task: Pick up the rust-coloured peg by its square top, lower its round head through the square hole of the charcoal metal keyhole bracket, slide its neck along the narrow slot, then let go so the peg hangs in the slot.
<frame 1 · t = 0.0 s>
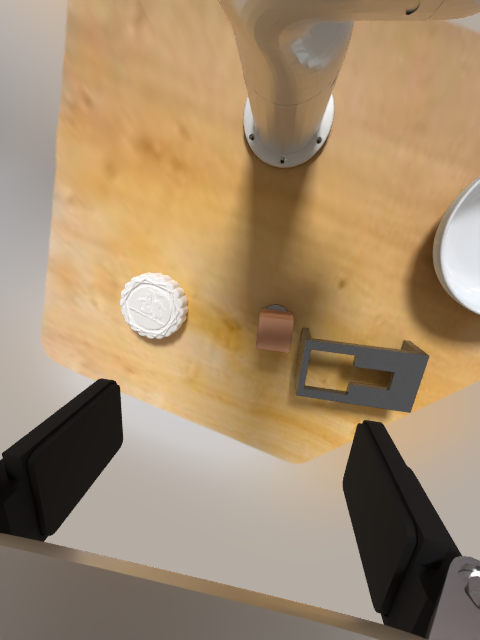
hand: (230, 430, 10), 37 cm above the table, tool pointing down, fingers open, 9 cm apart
mooncake: (158, 303, 49), on the table
keyhole peg: (275, 318, 47), on the table
keyhole bracket: (349, 360, 47), on the table
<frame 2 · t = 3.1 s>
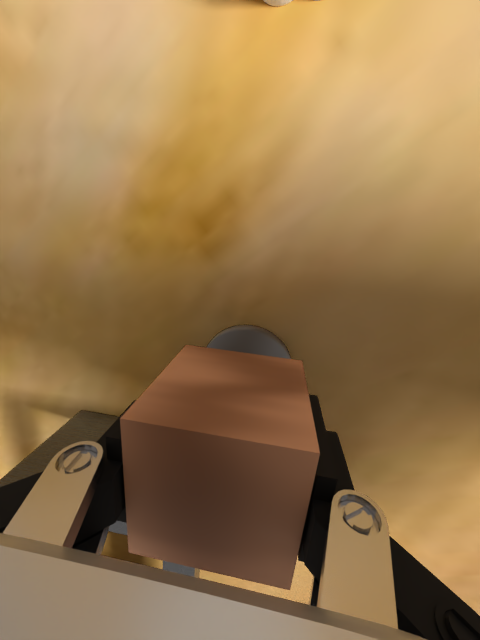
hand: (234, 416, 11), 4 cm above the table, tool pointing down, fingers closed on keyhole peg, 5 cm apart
keyhole peg: (246, 367, 15), on the table, touching gripper
keyhole bracket: (152, 519, 20), on the table
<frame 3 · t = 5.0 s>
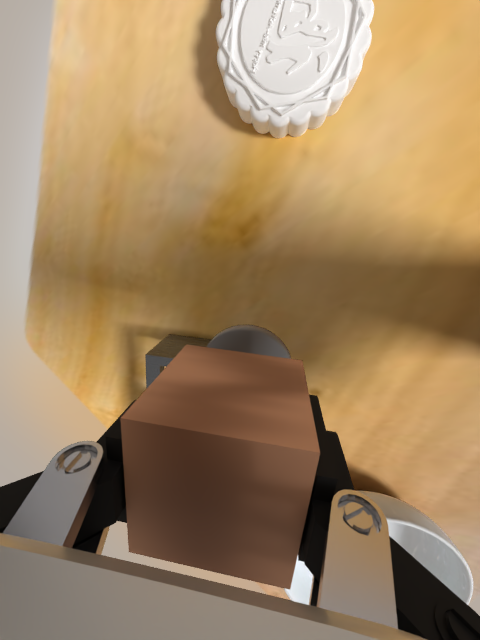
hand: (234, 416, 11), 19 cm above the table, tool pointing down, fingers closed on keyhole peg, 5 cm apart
mooncake: (289, 61, 23), on the table
keyhole peg: (246, 367, 15), point 15 cm above the table, touching gripper
keyhole bracket: (206, 403, 34), on the table
serving bowl: (354, 523, 37), on the table
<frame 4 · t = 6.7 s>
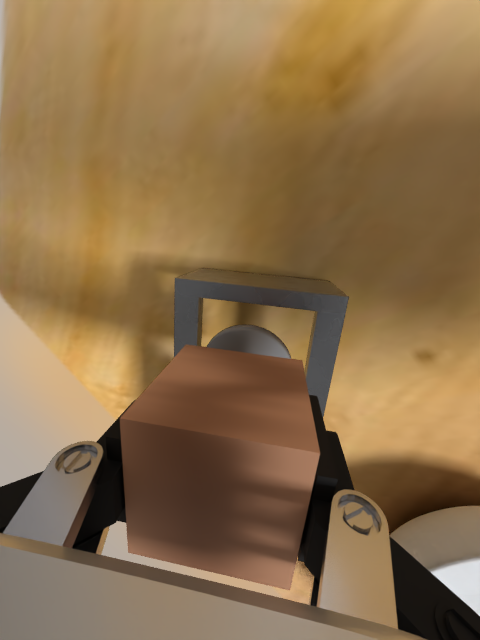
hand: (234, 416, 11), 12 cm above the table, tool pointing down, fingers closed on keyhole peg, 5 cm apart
keyhole peg: (246, 367, 15), point 7 cm above the table, touching gripper
keyhole bracket: (253, 375, 23), on the table
serving bowl: (457, 549, 26), on the table
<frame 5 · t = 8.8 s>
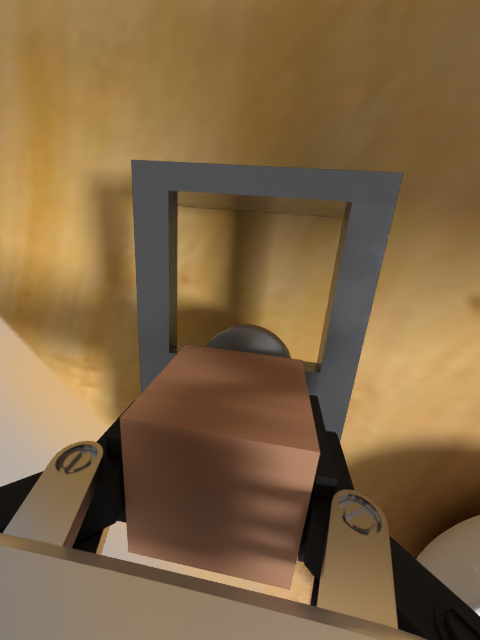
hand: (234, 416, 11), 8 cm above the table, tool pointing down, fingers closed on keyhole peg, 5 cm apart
keyhole peg: (246, 367, 15), point 3 cm above the table, touching gripper
keyhole bracket: (252, 337, 18), on the table
when the fingers open (7 cm above the table, at t = 10.4 s): keyhole peg stays where it is, resting on keyhole bracket.
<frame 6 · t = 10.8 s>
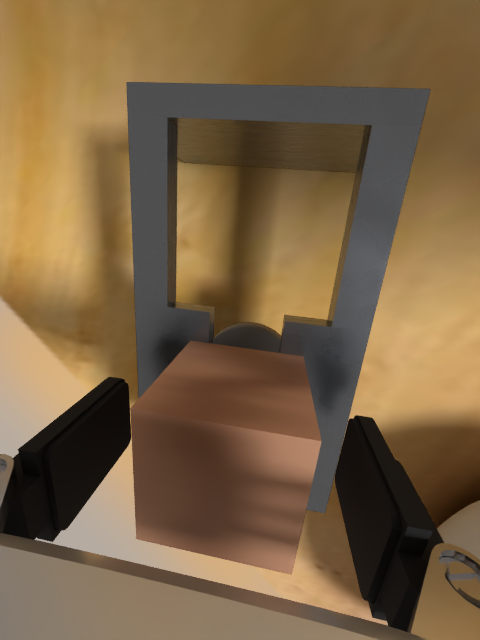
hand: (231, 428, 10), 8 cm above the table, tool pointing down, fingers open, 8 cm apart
keyhole peg: (248, 363, 16), point 2 cm above the table, touching keyhole bracket
keyhole bracket: (256, 305, 17), on the table
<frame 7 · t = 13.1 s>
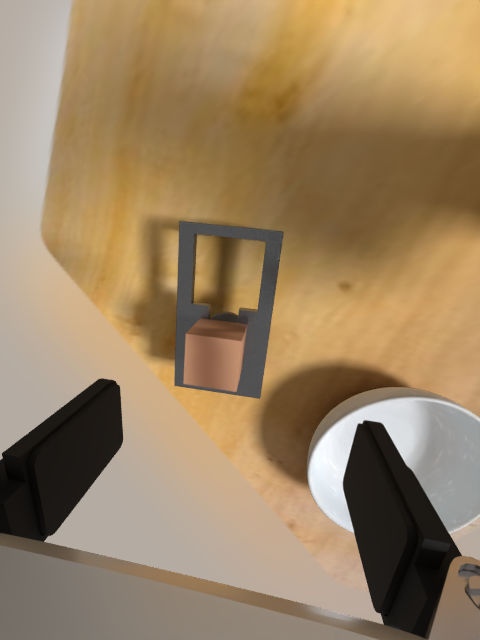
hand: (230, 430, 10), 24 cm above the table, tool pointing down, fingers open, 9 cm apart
keyhole peg: (226, 332, 32), point 2 cm above the table, touching keyhole bracket
keyhole bracket: (231, 304, 33), on the table
serving bowl: (377, 435, 36), on the table
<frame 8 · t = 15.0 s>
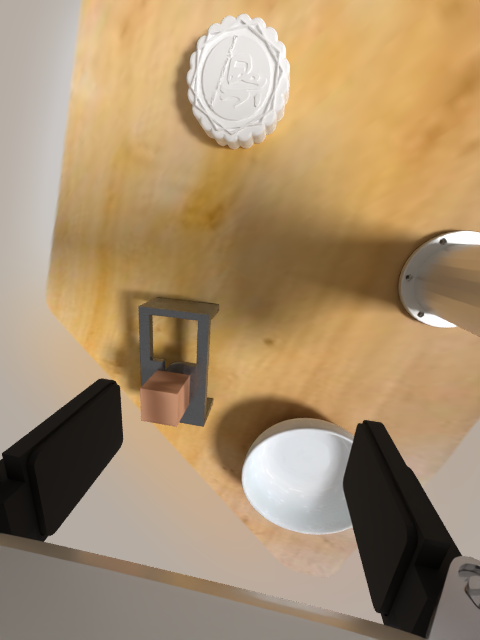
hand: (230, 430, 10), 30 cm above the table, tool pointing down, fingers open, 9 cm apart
mooncake: (240, 96, 33), on the table
keyhole peg: (181, 375, 42), point 2 cm above the table, touching keyhole bracket
keyhole bracket: (186, 353, 44), on the table
serving bowl: (304, 451, 46), on the table
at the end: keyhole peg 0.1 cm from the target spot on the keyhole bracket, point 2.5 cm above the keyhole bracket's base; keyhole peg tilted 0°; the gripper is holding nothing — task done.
